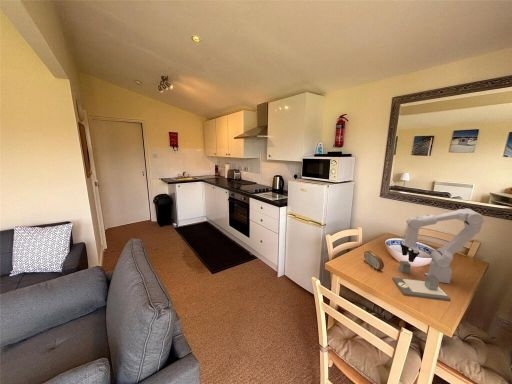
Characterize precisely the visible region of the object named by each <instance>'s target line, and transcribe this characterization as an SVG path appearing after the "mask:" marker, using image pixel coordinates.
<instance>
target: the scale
mask: <svg viewBox="0 0 512 384" xmlns="http://www.w3.org/2000/svg"><path fill="white" fill-rule="evenodd" d="M391 279H392V281H393V283H394V284H395V285H396V287H397V288H398V289H399V291H400V293H401V294H402V295H403V296H407V297H414V298H423V299H431V300H438V301H440V300H441V301H445V302H447V301H448V302H451V297H449V295H448V294H447V293H446V292H444V290H442V288H440V287H439V286H438V290H429V289H428V288H427V287H426V286H425V285H424V284H425V280H422V279H421V280H419V279H412V278H411V279H410V278H404V277H396V276H395V277H392V278H391Z"/></svg>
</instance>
